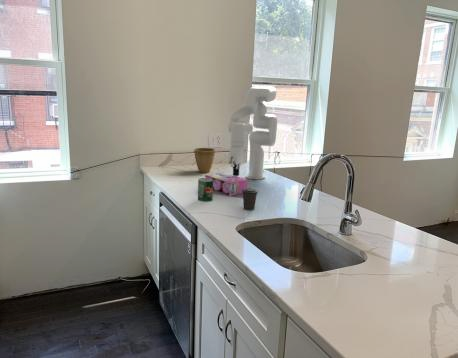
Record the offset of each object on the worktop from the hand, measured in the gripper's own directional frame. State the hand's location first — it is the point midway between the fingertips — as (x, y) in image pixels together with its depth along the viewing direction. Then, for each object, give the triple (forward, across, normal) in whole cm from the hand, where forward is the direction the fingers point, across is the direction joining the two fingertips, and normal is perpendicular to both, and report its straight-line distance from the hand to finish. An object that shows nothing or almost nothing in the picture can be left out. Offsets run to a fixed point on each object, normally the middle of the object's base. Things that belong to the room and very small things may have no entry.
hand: (235, 175), depth 222 cm
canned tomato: (+9, +27, -3) cm, 29 cm away
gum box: (+4, -2, -1) cm, 5 cm away
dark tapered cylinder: (+9, +28, +23) cm, 37 cm away
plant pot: (+9, -31, -42) cm, 53 cm away
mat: (+9, +6, 0) cm, 10 cm away
